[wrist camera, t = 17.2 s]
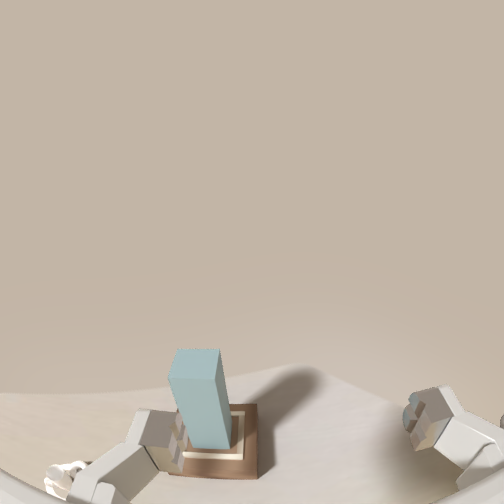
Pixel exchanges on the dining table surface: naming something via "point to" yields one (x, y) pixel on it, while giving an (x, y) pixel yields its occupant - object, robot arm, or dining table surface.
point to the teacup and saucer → (62, 476)
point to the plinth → (227, 450)
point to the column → (202, 397)
